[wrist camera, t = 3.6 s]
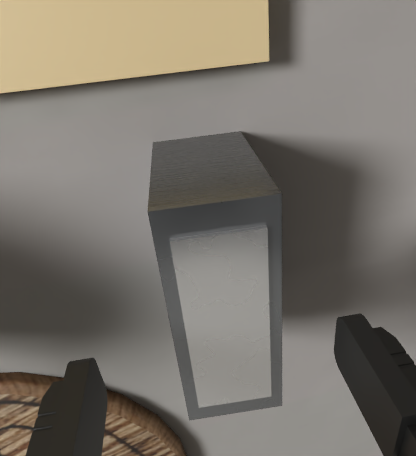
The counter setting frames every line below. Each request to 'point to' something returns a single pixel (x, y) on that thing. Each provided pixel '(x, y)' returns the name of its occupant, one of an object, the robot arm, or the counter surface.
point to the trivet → (114, 426)
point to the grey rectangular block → (220, 270)
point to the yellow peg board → (125, 39)
